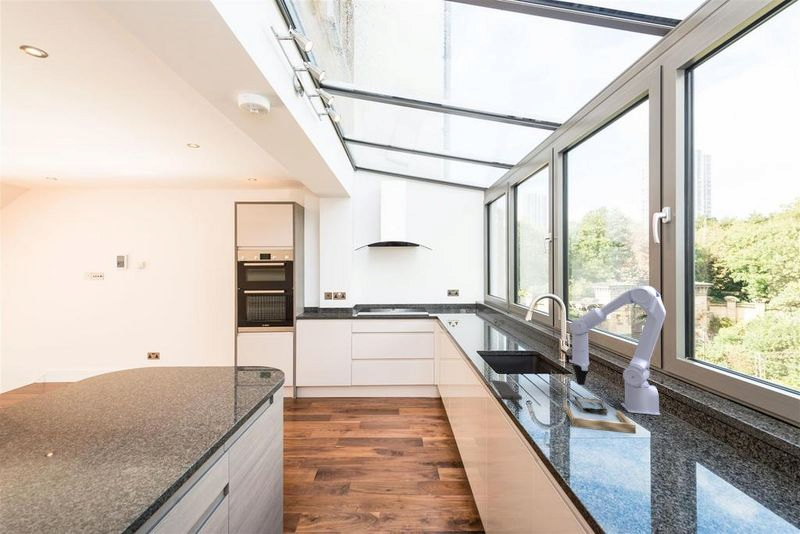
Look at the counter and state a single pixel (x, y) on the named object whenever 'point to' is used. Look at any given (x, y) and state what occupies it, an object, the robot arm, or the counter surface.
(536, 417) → the counter surface
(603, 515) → the counter surface
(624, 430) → the oak frame
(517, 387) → the counter surface
